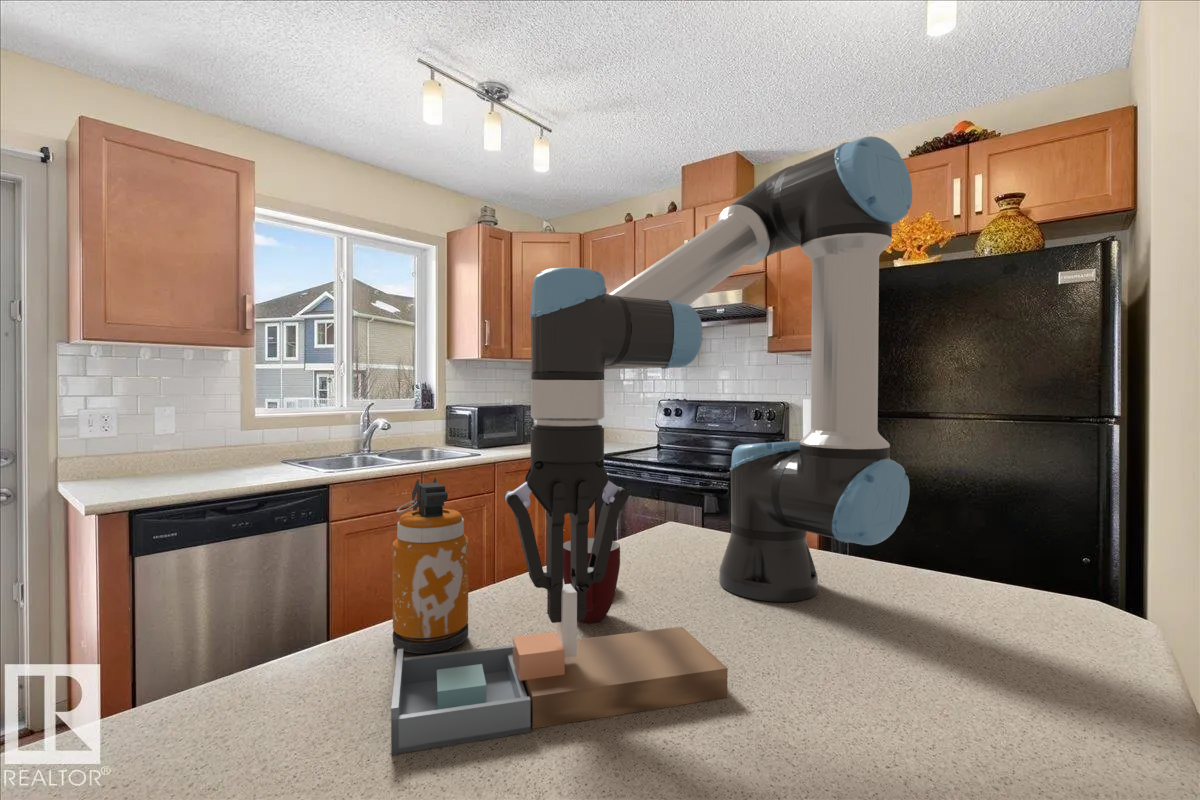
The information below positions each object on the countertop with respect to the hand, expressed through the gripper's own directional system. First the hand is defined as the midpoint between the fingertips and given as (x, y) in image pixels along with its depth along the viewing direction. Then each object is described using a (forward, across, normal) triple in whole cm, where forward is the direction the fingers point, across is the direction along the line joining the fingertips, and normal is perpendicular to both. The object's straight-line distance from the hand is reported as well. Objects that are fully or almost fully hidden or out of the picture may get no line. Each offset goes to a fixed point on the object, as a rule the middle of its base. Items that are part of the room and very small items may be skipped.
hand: (566, 651), depth 61 cm
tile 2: (+1, +3, 0) cm, 3 cm away
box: (+4, +11, 0) cm, 12 cm away
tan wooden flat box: (+4, -6, 0) cm, 7 cm away
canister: (+5, +13, -18) cm, 23 cm away
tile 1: (+1, +11, 0) cm, 11 cm away
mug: (+5, -8, -18) cm, 20 cm away
